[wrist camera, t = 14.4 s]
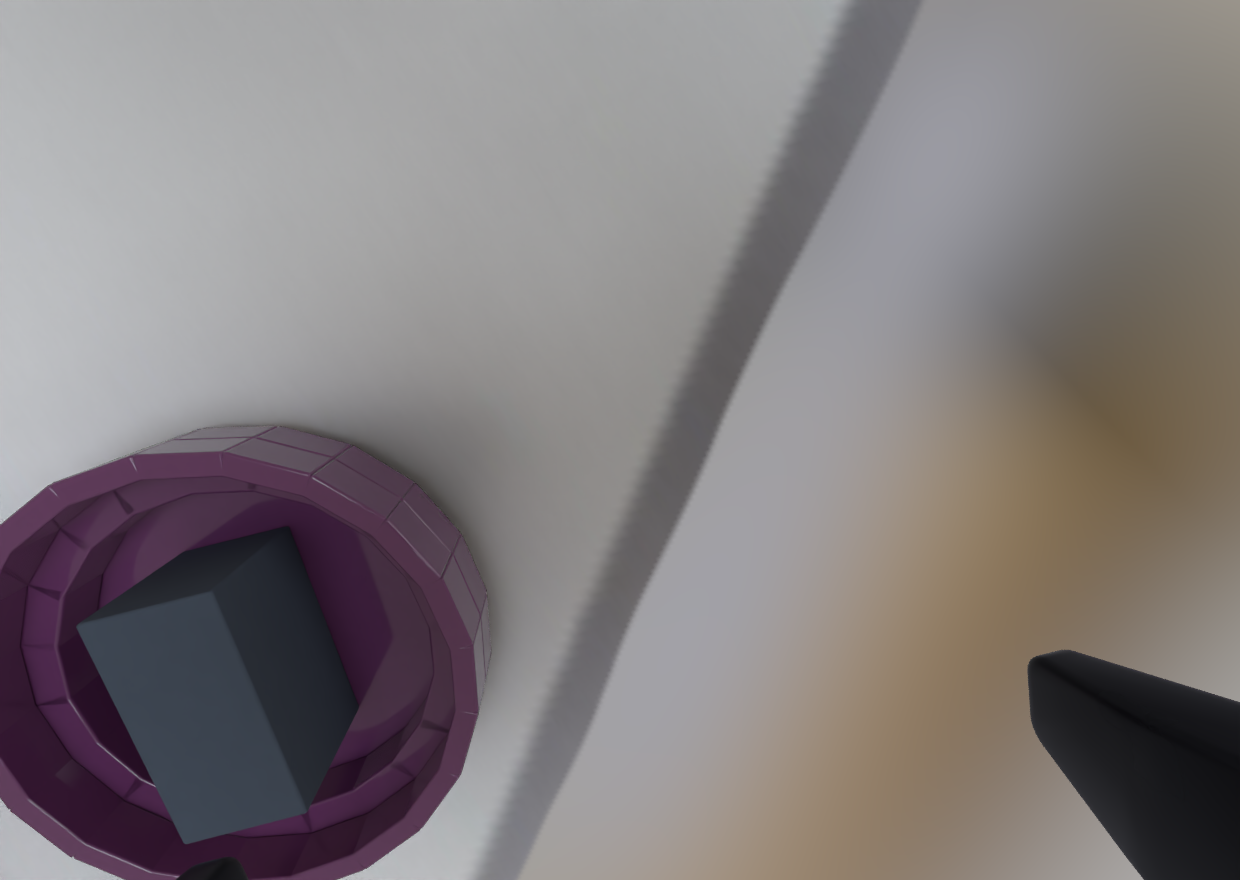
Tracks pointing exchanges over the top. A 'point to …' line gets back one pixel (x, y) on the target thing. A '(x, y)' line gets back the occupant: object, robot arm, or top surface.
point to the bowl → (350, 602)
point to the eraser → (226, 682)
